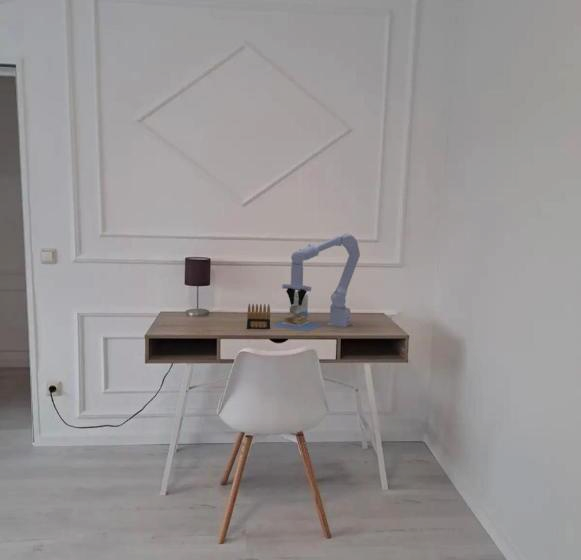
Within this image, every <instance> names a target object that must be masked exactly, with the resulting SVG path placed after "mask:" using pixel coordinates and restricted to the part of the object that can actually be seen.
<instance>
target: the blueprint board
mask: <svg viewBox="0 0 581 560" xmlns="http://www.w3.org/2000/svg"><path fill="white" fill-rule="evenodd" d="M284 321H285V319H283V320H282V321H278V322H276V323H275V324H270V327H274V328H280V329H287V330H294V331H301V332H311V331H313V330H315V329H317V328H319V327H322V326H325V324H324V323H319V322H312V321H307V322H306V323H304V324H301V325H294V324H287V323H284Z"/></svg>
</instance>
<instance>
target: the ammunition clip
mask: <svg viewBox="0 0 581 560" xmlns="http://www.w3.org/2000/svg"><path fill="white" fill-rule="evenodd" d="M247 305H248V306H247V315H246V330H247V329H248V330H271V306H270V303H268V305H267V307H266V303H264V304H263V305H262V303H260V305H258V303H256V305H255V304H254V303H252V305H251V304H250V303H248V304H247Z"/></svg>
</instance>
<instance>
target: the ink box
mask: <svg viewBox="0 0 581 560" xmlns="http://www.w3.org/2000/svg"><path fill="white" fill-rule="evenodd" d="M297 289H299V288H297ZM298 291H300V290H295V294H294V304H291V303H290V306H293V305H296V306H302V316H307V317H308V308H309V307H308V305H309V303H308V301H309V294H307V293H306V294H305V296H304V298H303V301H302V305H299V304H298V301H299V297H298Z"/></svg>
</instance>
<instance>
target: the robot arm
mask: <svg viewBox="0 0 581 560" xmlns="http://www.w3.org/2000/svg"><path fill="white" fill-rule="evenodd" d="M334 246H335V247H342V246H343V247H344V249H346V251H347V254H348V257H347V261H346V263H345V265H344V268H343V271H342V273H341V275H340V276H341V277H340V279H339V282H338V285H337V287H336V288H335V290H334V292H333V293H332V294H331V296H330V300H331V304H330V307H329V308H330V310H329V322H328V323H326V325H328V326H333V327H341V328H347V327H348V326H350V325H351V309H350V308H349V307H346V301H347V299H346V297H347V293H348V288H349V285H350V283H351V281H352V278H353V276H354V272H355V269H356V267H357V264H358V261H359V258H360V255H361V253H360V247H359V244H358V241H357V238H356V237H355V236H354V235H352V234H350V233H344V234H342V235H338V236H333V238H330V239H328V240H326V241H324V242H321V243H319V244H317V245H316V244H310V243H309V244H308V245H307V246H306V247H304V248H299V249H298V250H299V251H298V250H297V251H293V253H292V255H291V256H290V258H291V261H292V262H291V267H290V284H289V283H287V284H281V285H282V286H281V287H282V289H284V290H285V289H286V292H285V293H286V294H287V296H288V299H289V302H290V305H291V304H294V294H295V291H297V290H300V291H297V292H298V297H299V301H298V304H299V305H302V301H303V298H304V296H305V294H307V292H311V291H312V286H308V285H304V283H303V282H304V267H303V264H304V263H303V262H304V261H308V260H311V259H313V258H314V257H317V256H319V254H320V252H322V251H326V250H328V249H331V248H333V247H334ZM297 288H298V289H297Z"/></svg>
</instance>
